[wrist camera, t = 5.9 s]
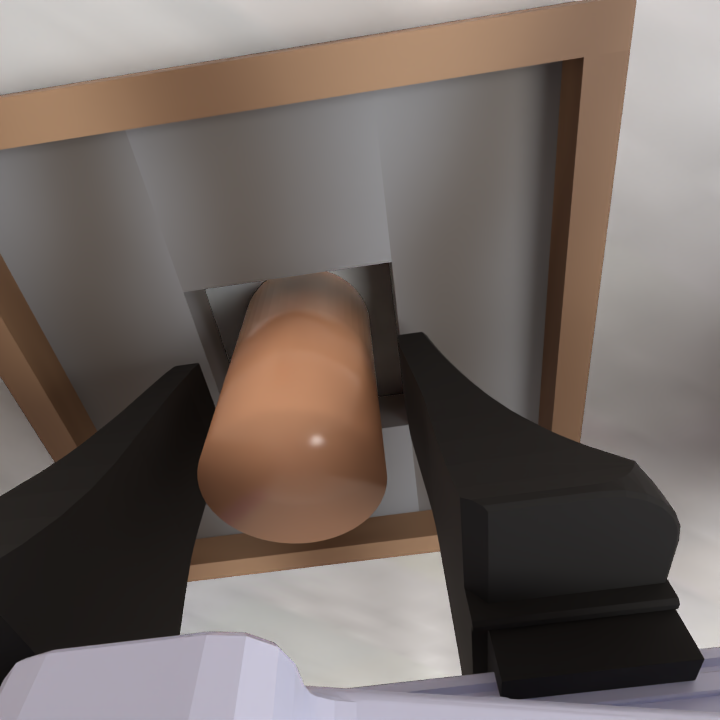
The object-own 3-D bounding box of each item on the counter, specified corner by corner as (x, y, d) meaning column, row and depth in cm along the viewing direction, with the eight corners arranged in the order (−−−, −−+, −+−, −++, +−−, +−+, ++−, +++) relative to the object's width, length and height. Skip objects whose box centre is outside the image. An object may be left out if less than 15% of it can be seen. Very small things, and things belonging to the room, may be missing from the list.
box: (577, 1, 11) (637, -6, 9) (541, 477, 18) (567, 535, 16) (-67, 106, 11) (-160, 123, 9) (156, 525, 19) (134, 588, 17)
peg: (368, 265, 14) (386, 402, 9) (370, 373, 16) (387, 538, 11) (236, 271, 14) (178, 413, 9) (255, 379, 16) (216, 548, 11)
